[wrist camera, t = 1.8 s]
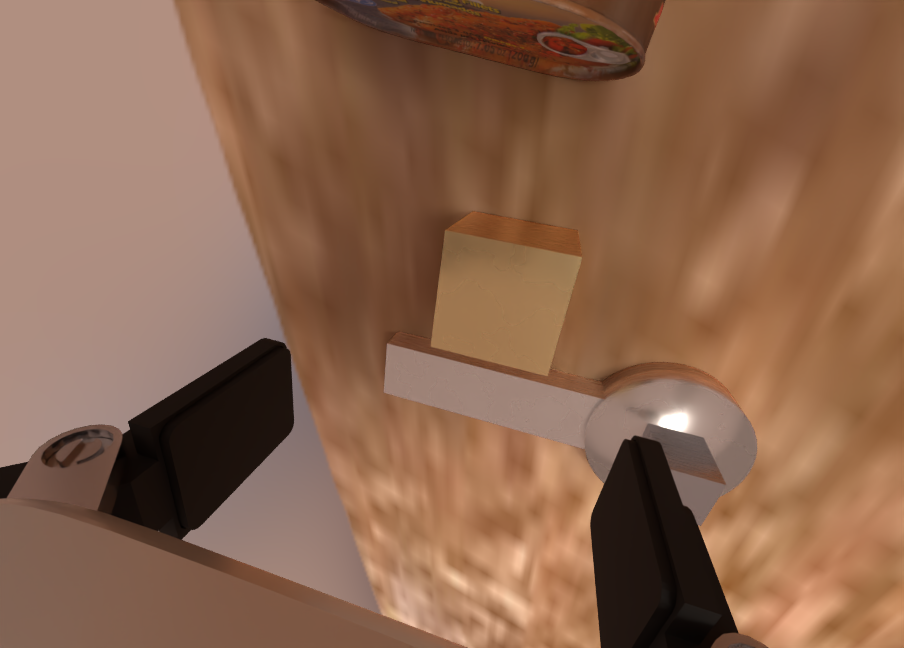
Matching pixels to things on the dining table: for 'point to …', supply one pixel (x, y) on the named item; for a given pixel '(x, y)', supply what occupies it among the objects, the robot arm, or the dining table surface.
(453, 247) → the tan wooden cube
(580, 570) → the dining table surface
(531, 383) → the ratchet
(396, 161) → the dining table surface
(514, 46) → the tin
